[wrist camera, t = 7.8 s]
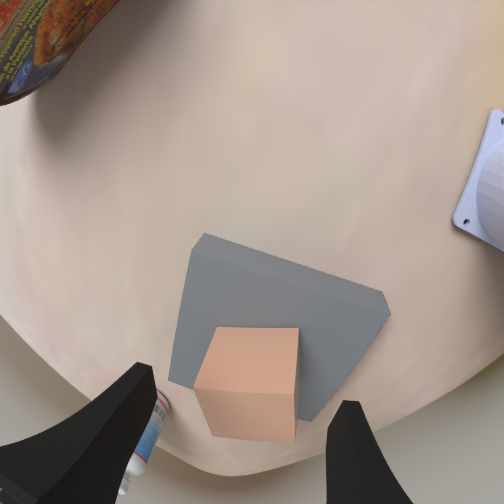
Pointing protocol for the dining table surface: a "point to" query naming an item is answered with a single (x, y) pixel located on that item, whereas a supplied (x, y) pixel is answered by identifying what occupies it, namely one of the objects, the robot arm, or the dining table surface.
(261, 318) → the gray block
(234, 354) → the terracotta cube
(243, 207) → the dining table surface
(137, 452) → the pill bottle
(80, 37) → the tin
